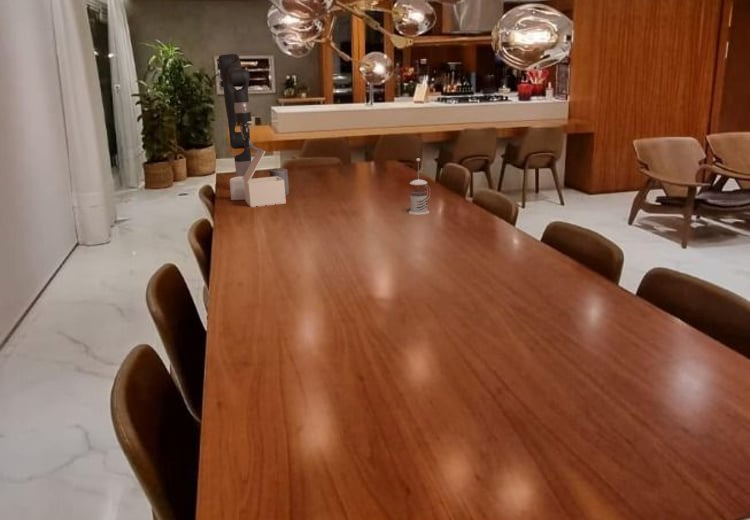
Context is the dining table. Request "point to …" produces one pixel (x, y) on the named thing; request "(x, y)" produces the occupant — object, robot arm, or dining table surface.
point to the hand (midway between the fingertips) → (246, 147)
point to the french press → (421, 199)
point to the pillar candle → (282, 174)
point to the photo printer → (237, 188)
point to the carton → (265, 191)
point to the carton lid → (253, 162)
